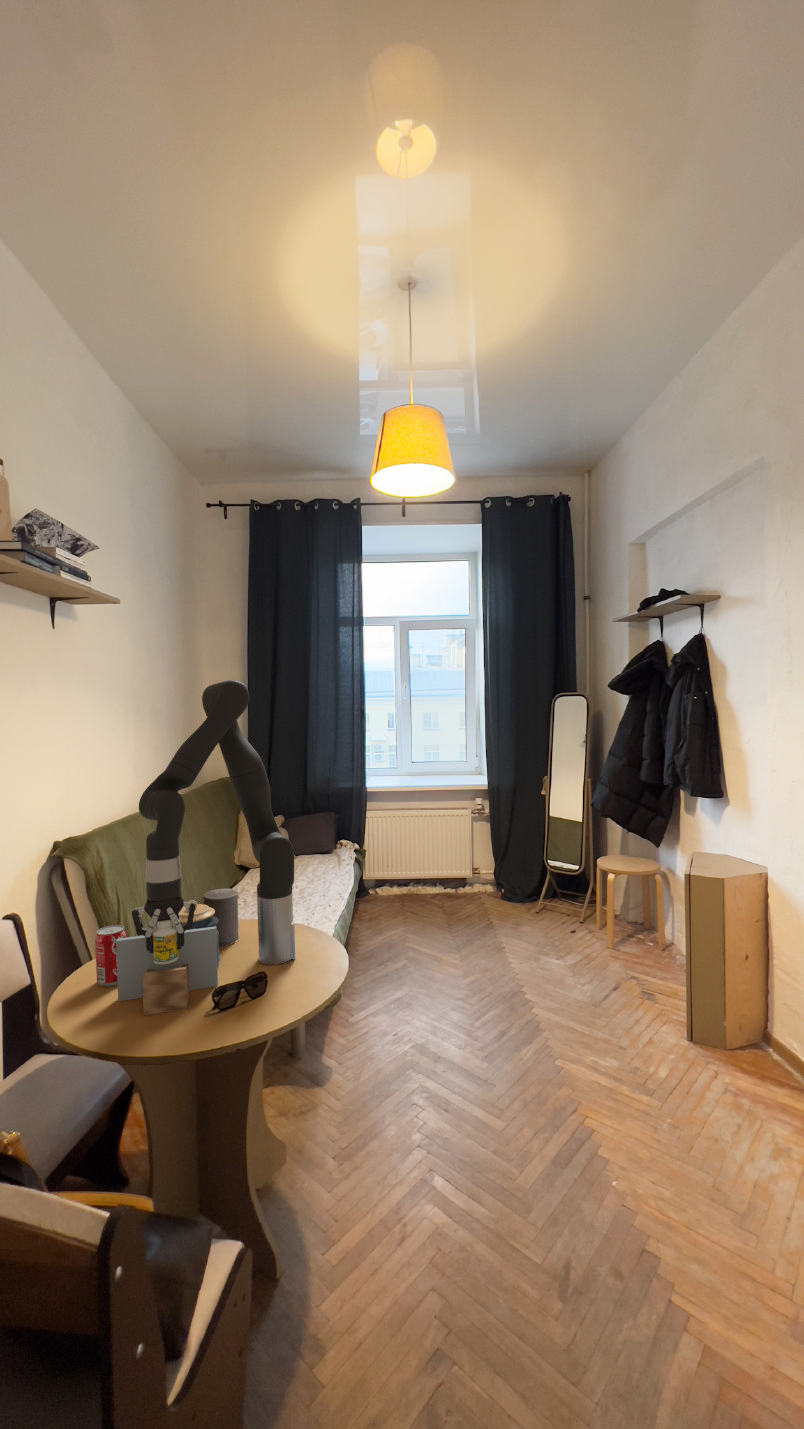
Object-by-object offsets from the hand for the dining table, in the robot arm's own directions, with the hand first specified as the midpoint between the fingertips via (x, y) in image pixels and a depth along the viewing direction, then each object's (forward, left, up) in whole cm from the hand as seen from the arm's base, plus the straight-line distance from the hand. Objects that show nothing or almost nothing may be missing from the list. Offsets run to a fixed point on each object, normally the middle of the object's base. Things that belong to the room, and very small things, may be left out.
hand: (165, 949), depth 139 cm
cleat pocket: (0, 0, -12) cm, 12 cm away
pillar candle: (-12, -34, -12) cm, 38 cm away
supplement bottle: (0, 0, -3) cm, 3 cm away
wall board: (0, -5, -12) cm, 13 cm away
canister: (-5, -17, -12) cm, 21 cm away
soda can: (+14, -16, -12) cm, 24 cm away
